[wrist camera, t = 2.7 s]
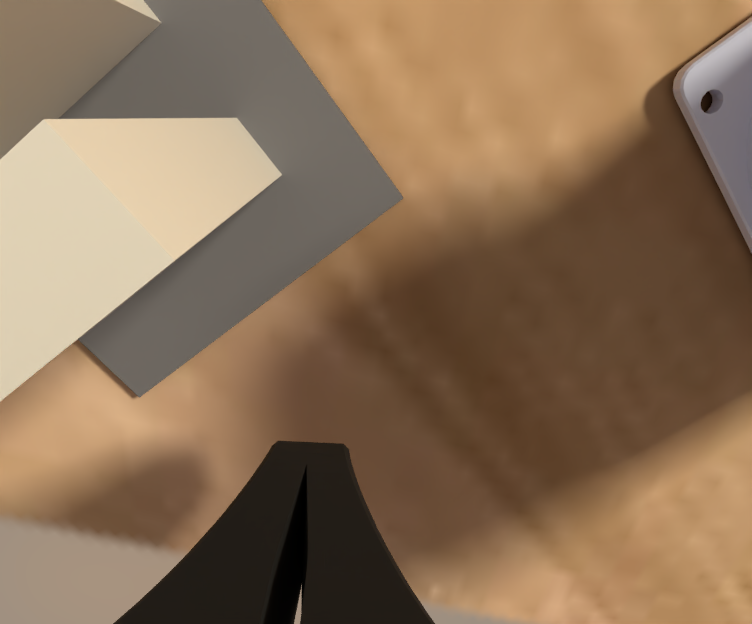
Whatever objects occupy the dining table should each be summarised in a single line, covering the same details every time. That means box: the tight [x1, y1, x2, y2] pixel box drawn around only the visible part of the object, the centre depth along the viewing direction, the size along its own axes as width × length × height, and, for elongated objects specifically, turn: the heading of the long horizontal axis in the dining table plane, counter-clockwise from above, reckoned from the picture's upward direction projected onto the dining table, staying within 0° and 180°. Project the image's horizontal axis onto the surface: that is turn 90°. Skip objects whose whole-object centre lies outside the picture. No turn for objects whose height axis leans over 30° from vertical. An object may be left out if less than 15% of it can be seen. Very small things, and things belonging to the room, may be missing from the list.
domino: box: [0, 118, 282, 402], centre depth 9 cm, size 2×5×8 cm, turn 126°
